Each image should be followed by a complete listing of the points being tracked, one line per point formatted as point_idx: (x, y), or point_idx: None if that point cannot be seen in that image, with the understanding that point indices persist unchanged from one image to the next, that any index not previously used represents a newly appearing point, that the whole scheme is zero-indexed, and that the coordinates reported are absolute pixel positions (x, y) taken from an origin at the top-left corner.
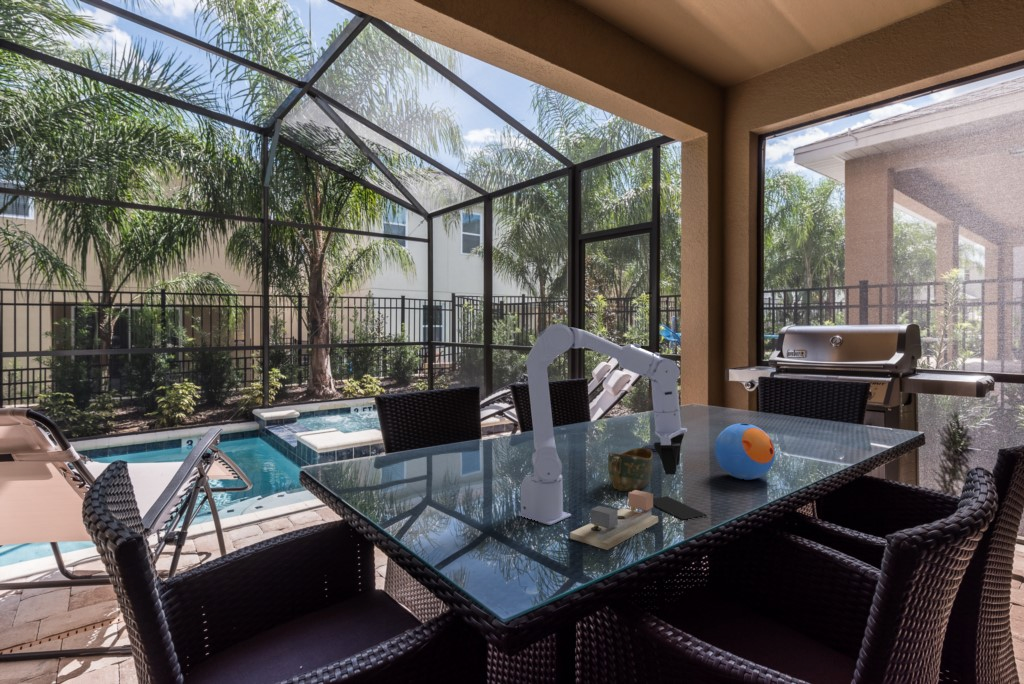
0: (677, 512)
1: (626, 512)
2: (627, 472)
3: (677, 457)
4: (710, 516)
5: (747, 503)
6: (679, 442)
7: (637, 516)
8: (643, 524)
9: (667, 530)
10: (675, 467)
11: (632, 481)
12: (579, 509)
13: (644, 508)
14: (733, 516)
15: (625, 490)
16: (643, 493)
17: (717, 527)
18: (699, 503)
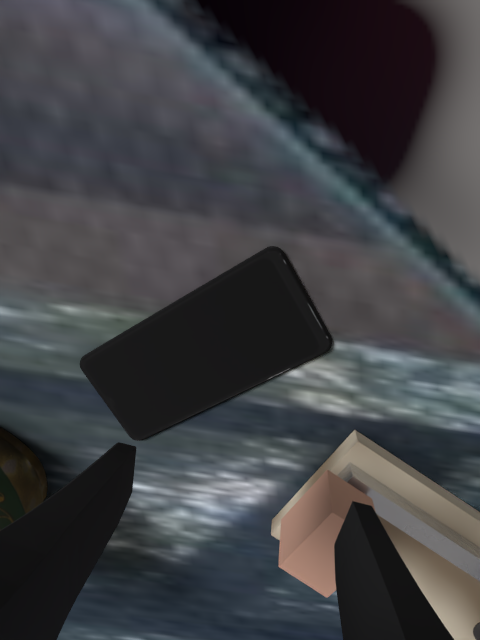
0: (258, 354)
1: None
2: None
3: (109, 491)
4: (271, 229)
5: (66, 20)
6: (8, 615)
7: (427, 530)
8: (447, 500)
9: (440, 412)
10: (398, 553)
11: (29, 495)
12: (252, 622)
13: None
14: (259, 126)
15: (45, 485)
16: (332, 547)
17: (404, 223)
18: (116, 247)
